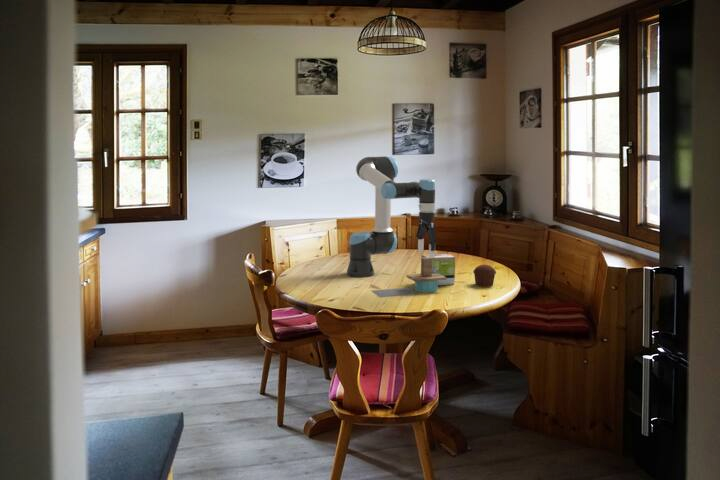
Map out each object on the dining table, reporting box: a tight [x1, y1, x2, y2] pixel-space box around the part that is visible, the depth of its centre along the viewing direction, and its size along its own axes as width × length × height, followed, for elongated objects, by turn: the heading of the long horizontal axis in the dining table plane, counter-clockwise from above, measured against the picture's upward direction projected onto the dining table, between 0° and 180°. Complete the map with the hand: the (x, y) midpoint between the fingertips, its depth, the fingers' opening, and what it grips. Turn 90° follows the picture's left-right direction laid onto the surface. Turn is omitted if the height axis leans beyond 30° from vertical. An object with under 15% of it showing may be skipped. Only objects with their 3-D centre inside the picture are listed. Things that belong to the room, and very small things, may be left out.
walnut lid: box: [406, 257, 447, 283], centre depth 295 cm, size 12×16×10 cm
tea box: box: [421, 253, 456, 286], centre depth 310 cm, size 15×10×15 cm
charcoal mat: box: [371, 287, 420, 298], centre depth 292 cm, size 14×20×1 cm
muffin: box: [472, 264, 497, 287], centre depth 307 cm, size 12×11×10 cm
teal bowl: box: [414, 280, 439, 293], centre depth 296 cm, size 11×11×6 cm
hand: (426, 254), depth 295 cm, fingers open, 13 cm apart
